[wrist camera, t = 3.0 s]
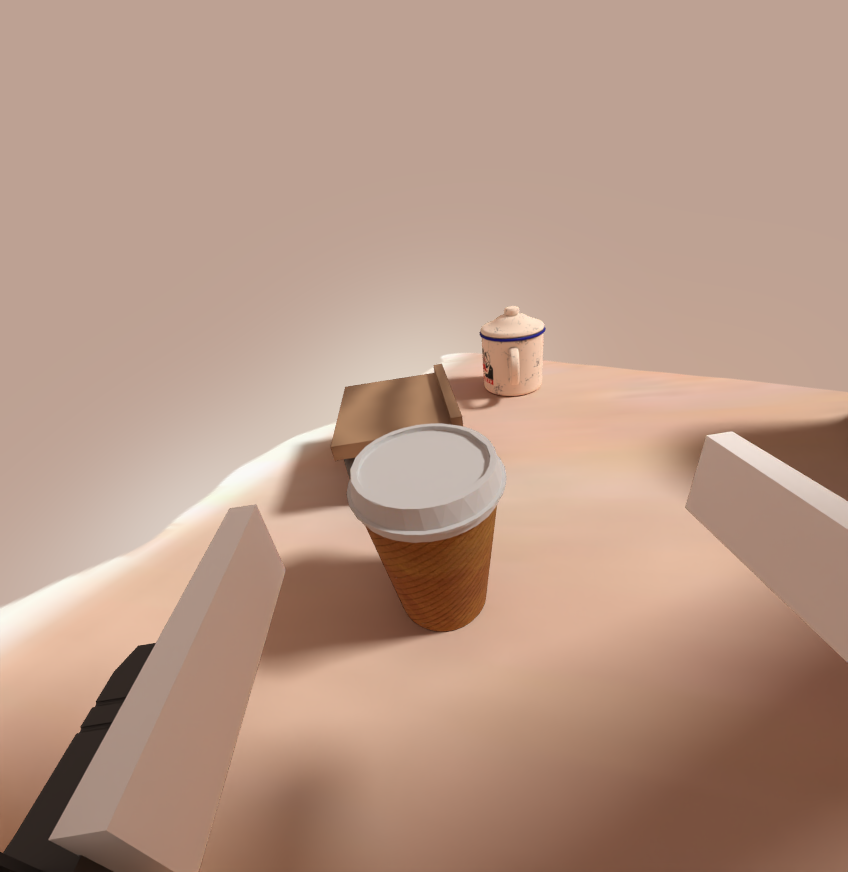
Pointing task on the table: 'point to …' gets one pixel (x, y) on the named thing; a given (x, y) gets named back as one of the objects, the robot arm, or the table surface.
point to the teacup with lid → (512, 353)
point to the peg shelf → (391, 410)
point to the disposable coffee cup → (431, 517)
